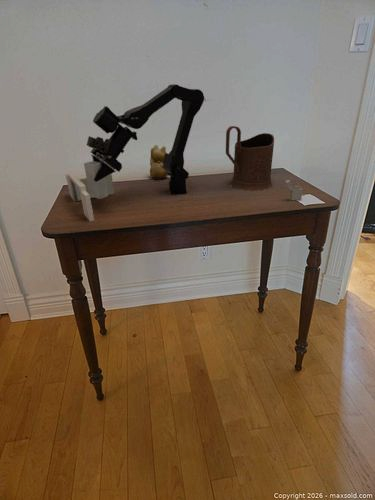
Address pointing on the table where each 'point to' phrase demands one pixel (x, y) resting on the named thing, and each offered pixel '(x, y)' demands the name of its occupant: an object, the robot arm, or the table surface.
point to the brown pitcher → (251, 161)
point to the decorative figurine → (157, 163)
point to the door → (84, 181)
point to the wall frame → (84, 195)
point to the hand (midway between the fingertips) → (92, 178)
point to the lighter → (294, 191)
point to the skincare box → (95, 188)
